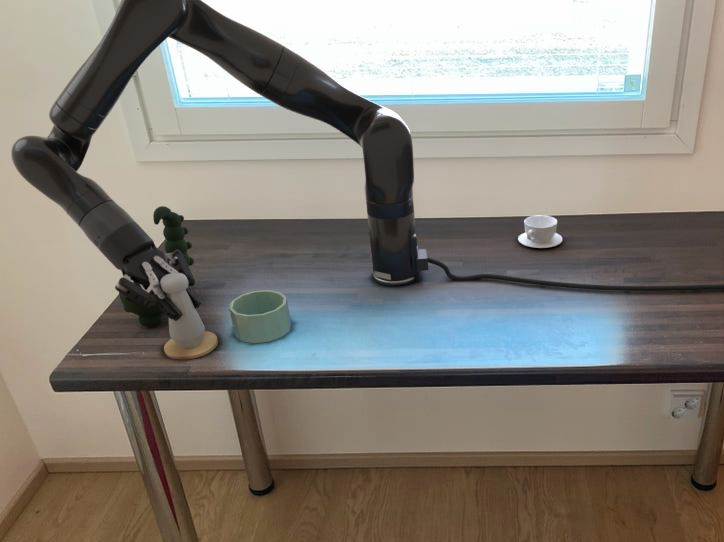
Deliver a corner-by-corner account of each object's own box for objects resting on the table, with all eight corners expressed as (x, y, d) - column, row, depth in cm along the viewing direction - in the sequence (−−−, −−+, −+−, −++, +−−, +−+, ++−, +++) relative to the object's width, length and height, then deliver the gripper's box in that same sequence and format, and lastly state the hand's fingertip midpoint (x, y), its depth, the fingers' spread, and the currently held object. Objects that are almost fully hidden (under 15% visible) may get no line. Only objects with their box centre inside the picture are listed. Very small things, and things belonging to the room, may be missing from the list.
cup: (292, 314, 140) (288, 288, 137) (288, 340, 132) (283, 313, 129) (239, 318, 139) (233, 292, 136) (232, 345, 131) (225, 318, 128)
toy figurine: (168, 289, 154) (110, 341, 131) (148, 199, 145) (82, 238, 123) (213, 289, 153) (162, 341, 131) (195, 199, 145) (138, 238, 122)
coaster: (221, 331, 135) (221, 328, 135) (213, 357, 127) (212, 354, 127) (170, 335, 134) (169, 332, 134) (159, 361, 126) (158, 358, 126)
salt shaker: (204, 331, 134) (188, 265, 127) (210, 345, 129) (193, 278, 123) (170, 339, 132) (152, 273, 125) (175, 354, 127) (156, 286, 120)
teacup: (533, 229, 173) (533, 210, 171) (570, 238, 168) (571, 218, 166) (509, 243, 167) (509, 223, 164) (547, 253, 162) (548, 233, 159)
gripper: (89, 238, 116) (166, 320, 119) (156, 208, 127) (226, 283, 130) (75, 263, 121) (150, 342, 123) (141, 232, 132) (209, 304, 134)
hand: (188, 311), depth 126 cm, fingers open, 4 cm apart
